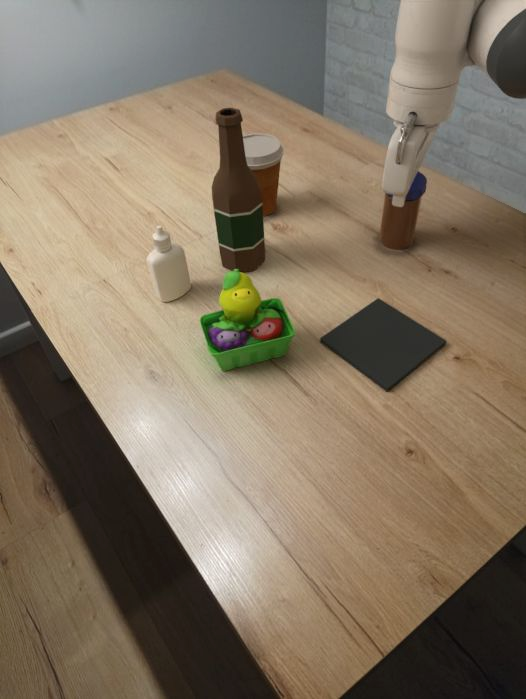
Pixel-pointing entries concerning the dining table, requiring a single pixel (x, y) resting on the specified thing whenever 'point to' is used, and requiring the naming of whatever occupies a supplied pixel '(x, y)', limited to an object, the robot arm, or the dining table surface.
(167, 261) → the eye dropper bottle
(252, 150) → the disposable coffee cup
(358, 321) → the coaster
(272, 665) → the dining table surface
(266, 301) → the fruit basket
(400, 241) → the jar
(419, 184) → the lid
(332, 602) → the dining table surface
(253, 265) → the beer bottle
